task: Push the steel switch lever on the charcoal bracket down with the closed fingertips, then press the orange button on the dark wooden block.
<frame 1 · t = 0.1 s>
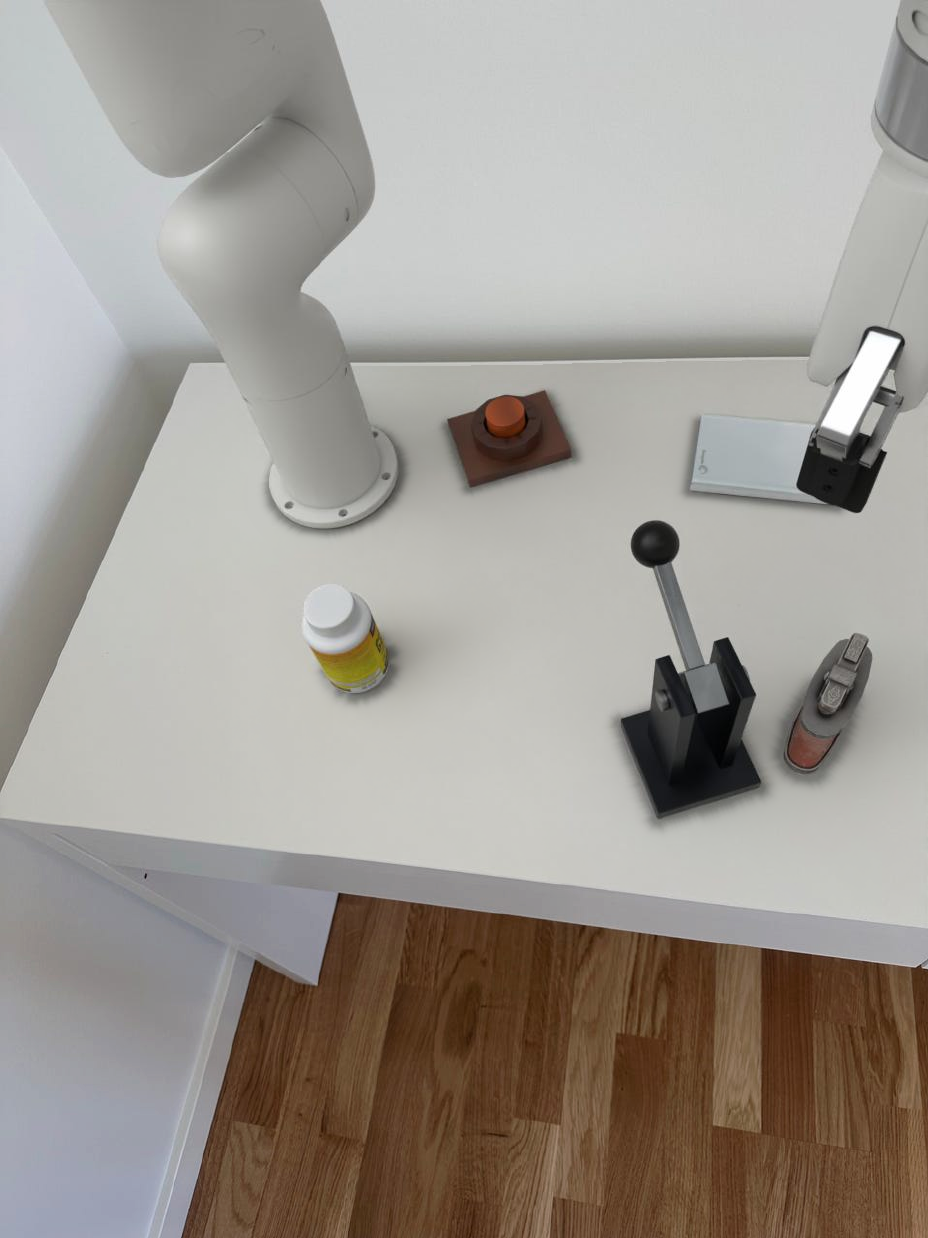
hand: (871, 428, 45), 31 cm above the table, tool pointing down, fingers open, 9 cm apart
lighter: (815, 729, 70), on the table
lever: (678, 614, 60), point 14 cm above the table, hinge at 25.0°
supplement bottle: (359, 667, 78), on the table
button: (505, 417, 85), point 3 cm above the table, slide at 0.1 cm
hard drive: (764, 464, 83), on the table
bracket: (687, 755, 70), on the table
button block: (508, 441, 88), on the table
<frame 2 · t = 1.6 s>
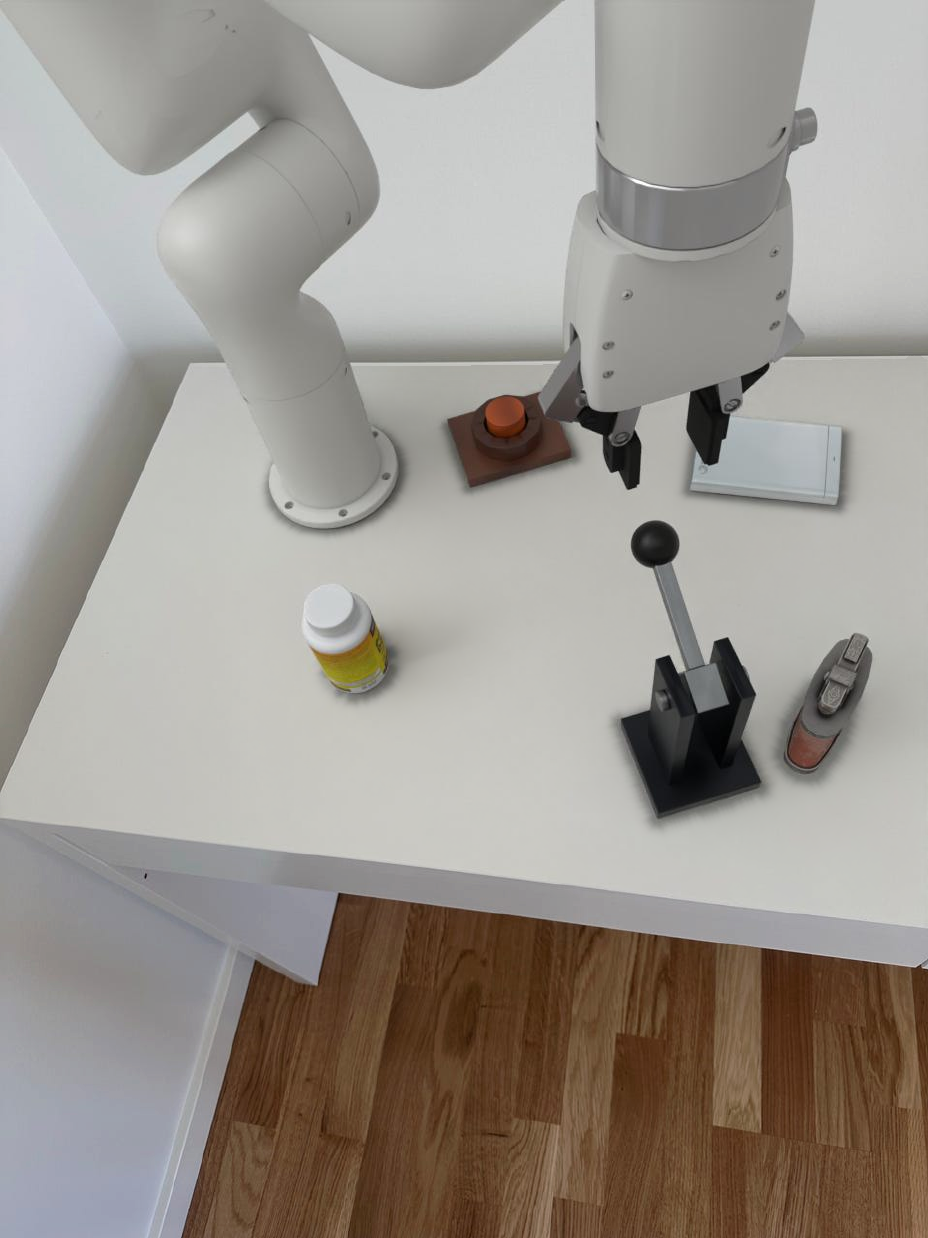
hand: (663, 456, 53), 25 cm above the table, tool pointing down, fingers open, 4 cm apart
nothing on the table moved.
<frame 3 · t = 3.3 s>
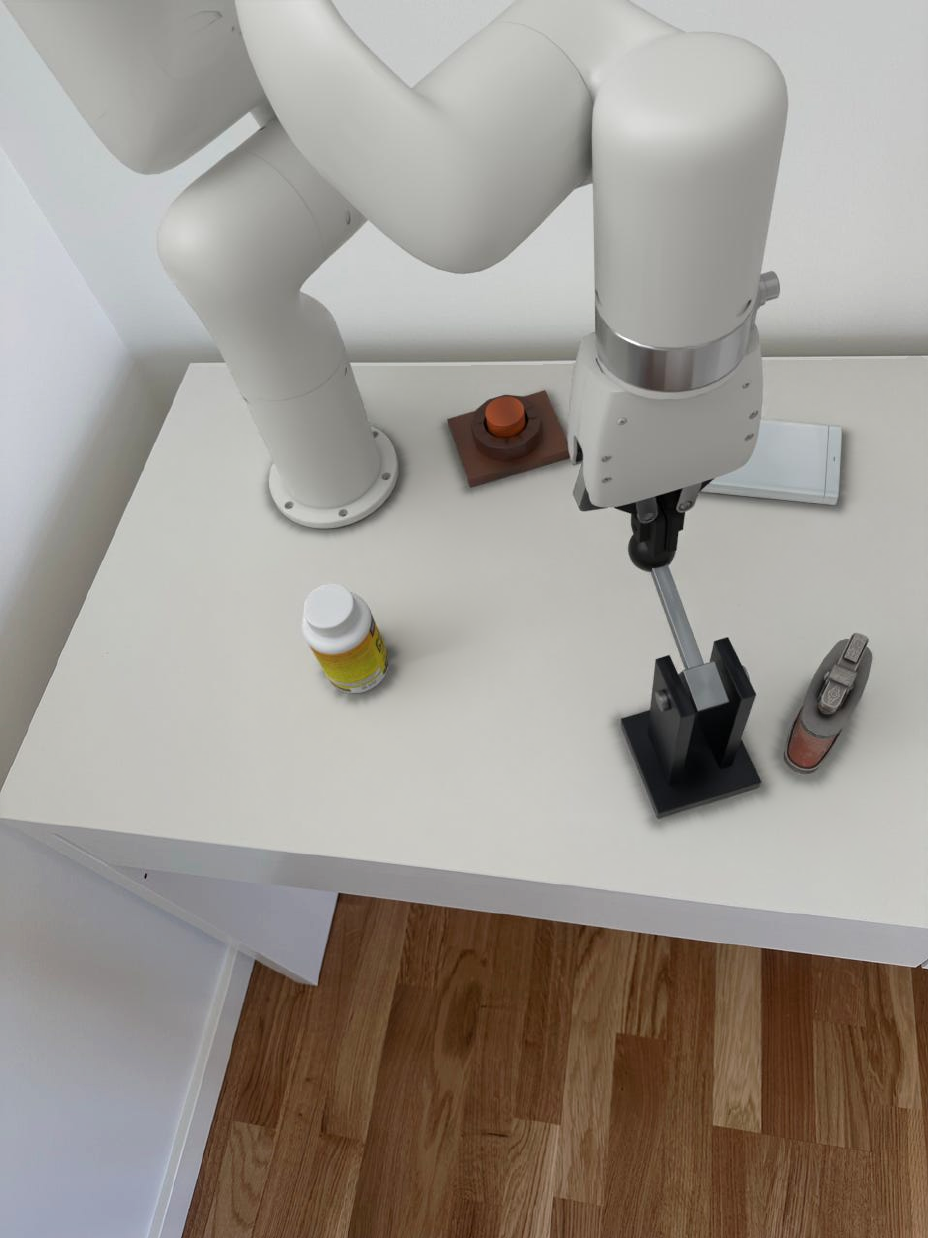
hand: (655, 537, 61), 17 cm above the table, tool pointing down, fingers closed
lever: (676, 615, 61), point 14 cm above the table, hinge at 18.3°, touching gripper
everything else where it was.
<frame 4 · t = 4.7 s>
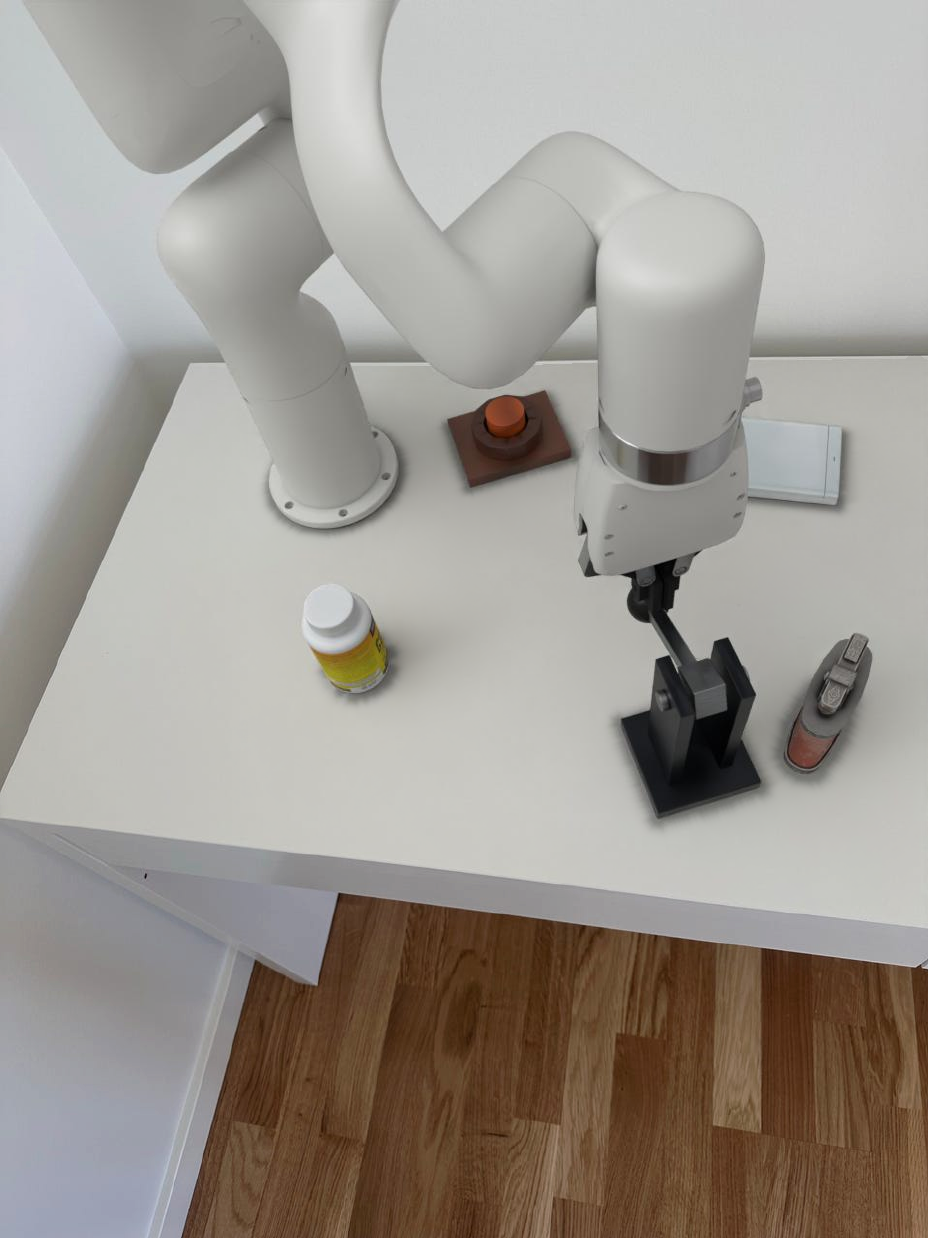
hand: (654, 595, 66), 10 cm above the table, tool pointing down, fingers closed
lever: (673, 641, 64), point 10 cm above the table, hinge at -21.4°, touching gripper
everything else where it was.
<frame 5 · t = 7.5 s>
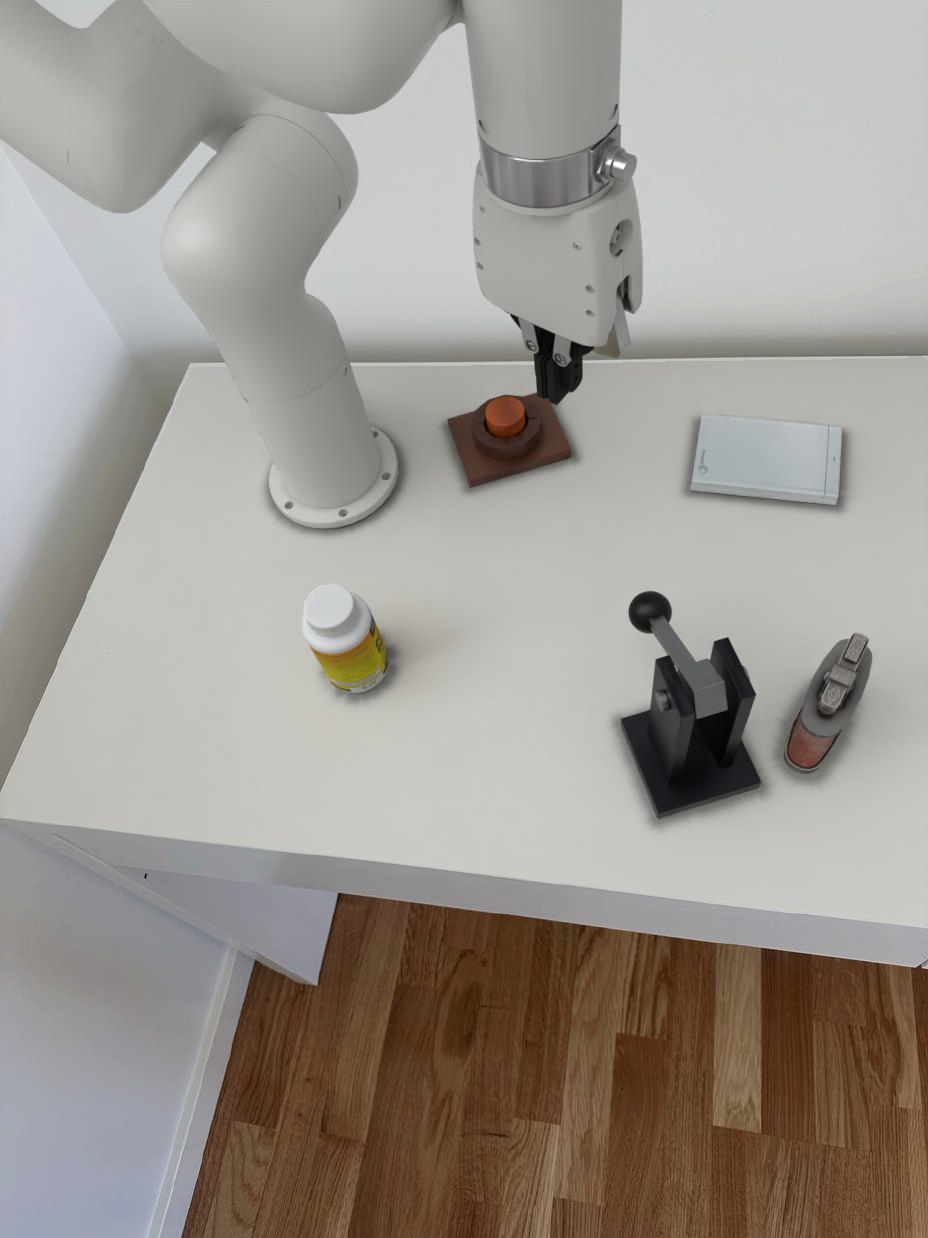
hand: (559, 388, 66), 19 cm above the table, tool pointing down, fingers closed
lever: (673, 647, 64), point 10 cm above the table, hinge at -27.0°
everything else where it was.
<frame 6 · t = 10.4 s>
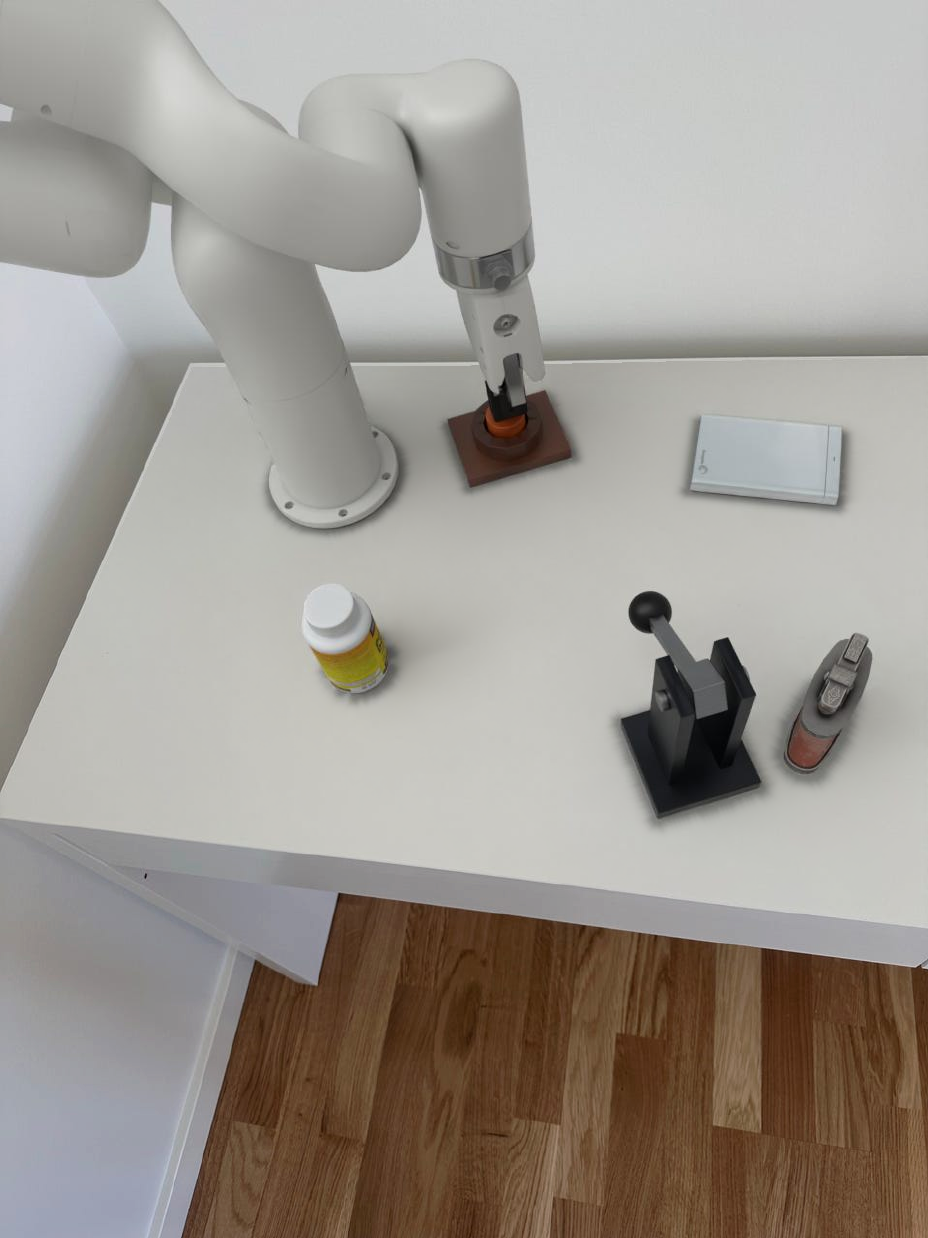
hand: (508, 411, 85), 4 cm above the table, tool pointing down, fingers closed
button: (505, 419, 85), point 3 cm above the table, slide at -0.2 cm, touching gripper
everything else where it was.
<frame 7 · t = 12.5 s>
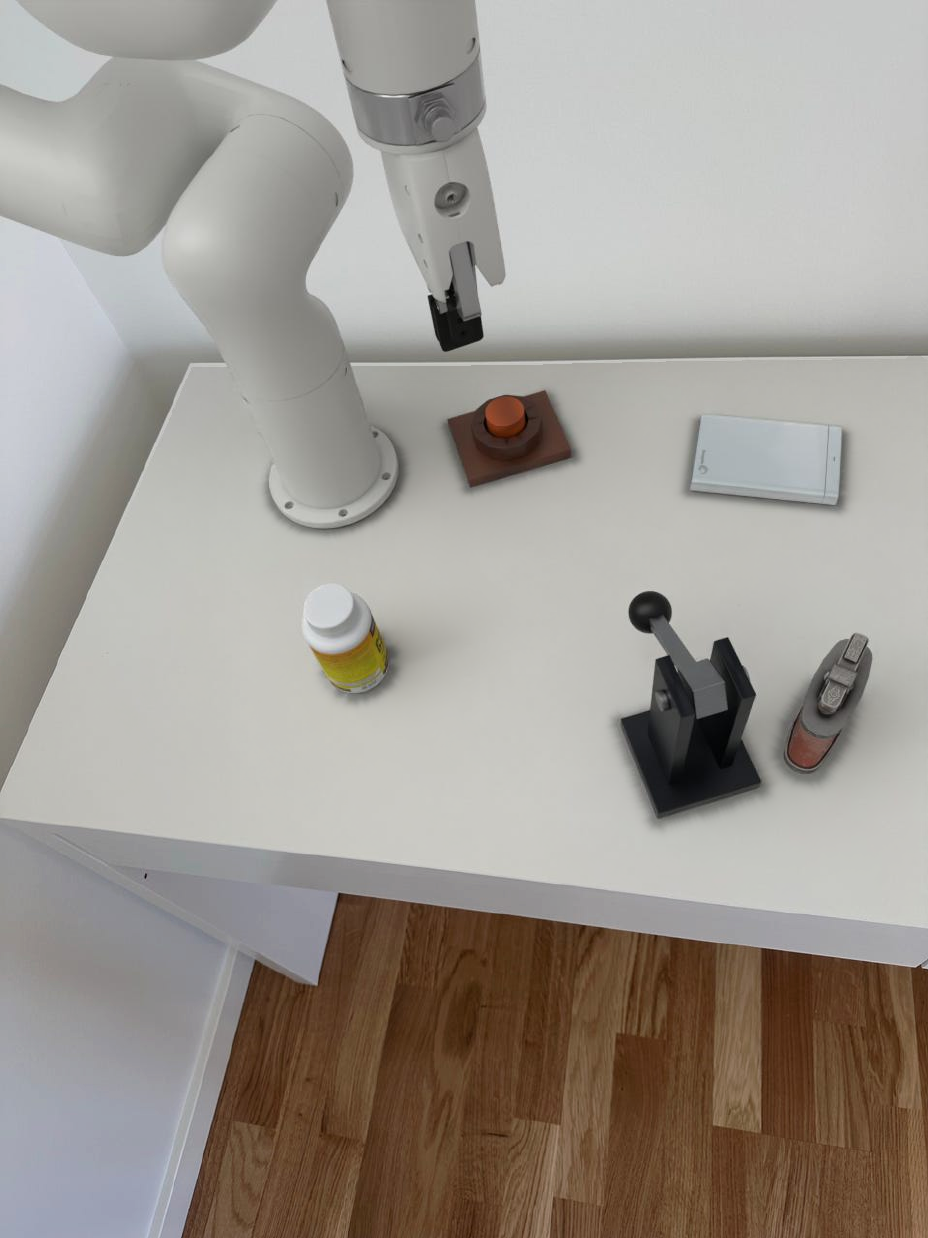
hand: (460, 338, 67), 21 cm above the table, tool pointing down, fingers closed
button: (505, 417, 85), point 3 cm above the table, slide at 0.1 cm
everything else where it was.
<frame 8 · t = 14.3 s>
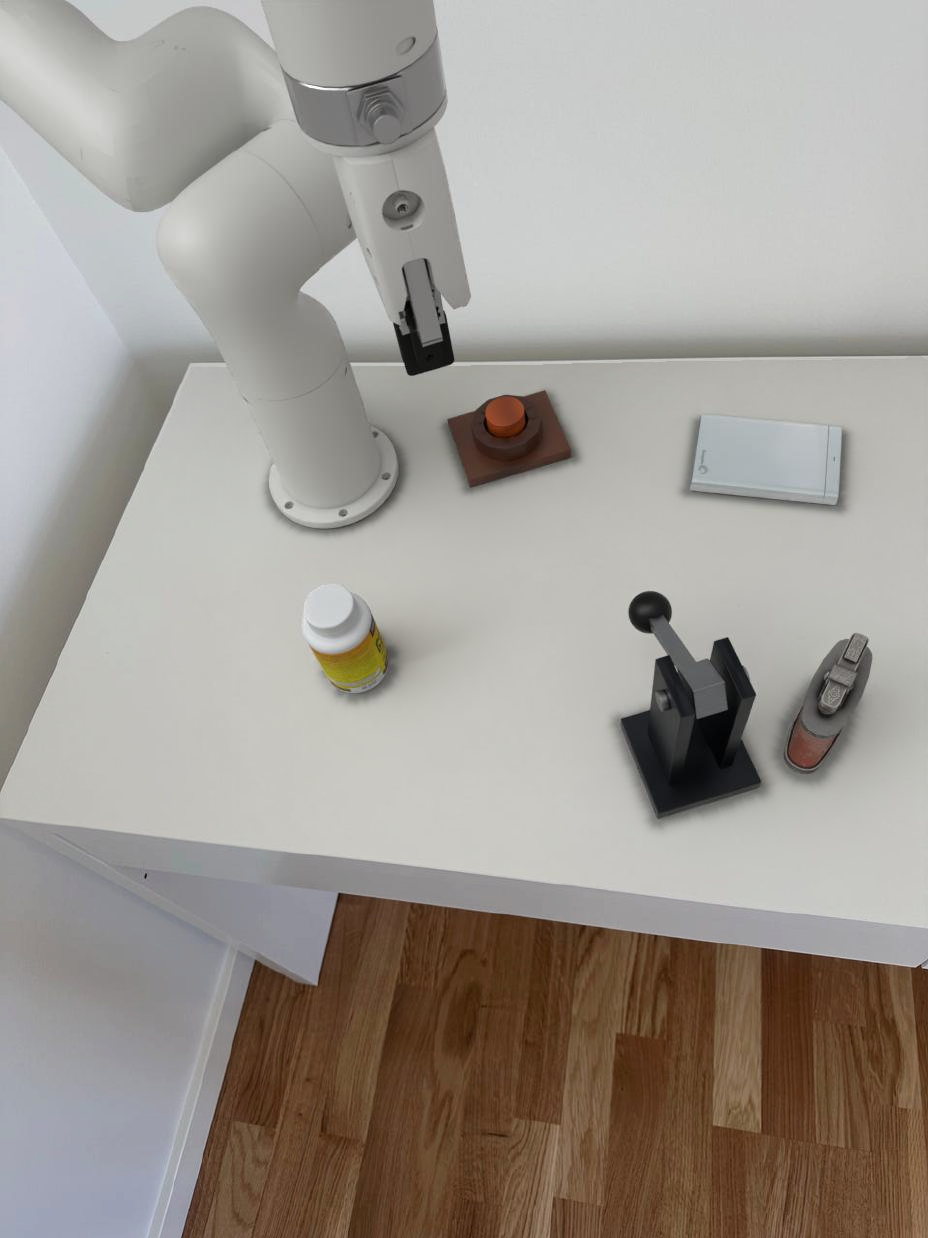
hand: (428, 361, 60), 25 cm above the table, tool pointing down, fingers closed
nothing on the table moved.
at the end: lever at -27° (first picture: +25°); button pushed in 1.0 cm at the most during the clip, back to where it started at the end; button slide at 0.1 cm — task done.
